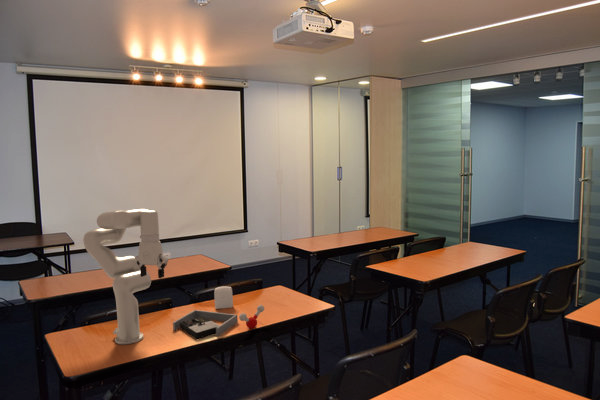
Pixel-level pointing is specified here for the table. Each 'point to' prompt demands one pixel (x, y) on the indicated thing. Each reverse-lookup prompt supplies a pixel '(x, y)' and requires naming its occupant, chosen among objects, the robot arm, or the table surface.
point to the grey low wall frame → (228, 318)
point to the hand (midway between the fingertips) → (152, 276)
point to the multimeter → (199, 327)
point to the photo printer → (223, 297)
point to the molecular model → (251, 321)
